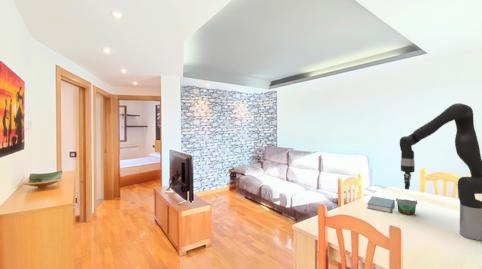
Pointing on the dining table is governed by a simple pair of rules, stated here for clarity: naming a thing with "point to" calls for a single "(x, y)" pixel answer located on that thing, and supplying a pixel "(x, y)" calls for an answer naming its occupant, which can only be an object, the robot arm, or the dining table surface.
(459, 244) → the dining table surface
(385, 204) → the book
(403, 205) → the food container
